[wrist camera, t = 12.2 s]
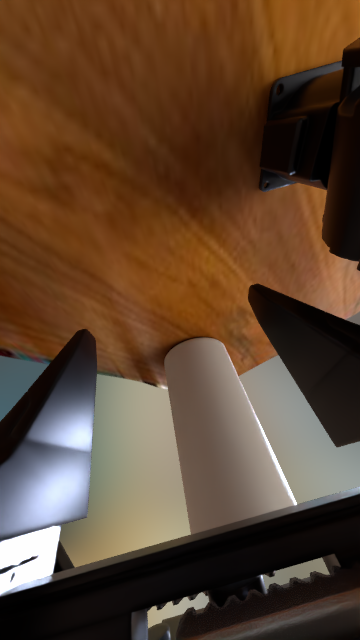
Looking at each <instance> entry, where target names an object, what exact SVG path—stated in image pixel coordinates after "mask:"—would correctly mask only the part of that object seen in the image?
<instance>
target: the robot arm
mask: <svg viewBox="0 0 360 640" xmlns="http://www.w3.org/2000/svg"><path fill="white" fill-rule="evenodd" d="M278 85H279V86H280V92H279V94H278V95H277V94H276V90H277V87H278ZM260 167H261V173H260V182H259V189H260V190H261V191H263V192H266V191H269V190H273V189H276V188H280V187H283V186H287V185H291V184H294V183H302V184H306V185H309V186H313V187H317V188H321V189H324V190H327V196H326V204H325V211H324V215H323V220H322V222H323V227H322V239H323V240H324V242H325V243H326V244H327V246H328V247H330V250H329V252H330V253H332V254H334V255H336V256H338V257H341V258H344V259H348V260H352V261H358V262H359V264H358V267H357V270H359V271H360V38H358V39H357V40H356V41H354V42H353V43H351V44H350V45H348V46H347V47H346V48H344V50H343V57H342V61H339V62H335V63H332V64H328V65H325V66H321V67H318V68H314V69H311V70H307V71H303V72H300V73H296V74H293V75H289V76H286V77H282V78H279V79H277V80H276V81H275V82H274V83H273V84H272V87H271V89H270V95H269V104H268V112H267V121H266V124H265V126H264V133H263V142H262V151H261V160H260ZM266 182H267V185H266V186H265V187H264V184H265V183H266ZM248 301H249V303H250V305H251V307H252V309H253V312H254V314H255V316H256V318H257V320H258V322H259V324H260V326H261V327H262V329H263V331H264V332H265V334H266V335H267V337H268V339H269V340H270V342H271V343H272V345H273V347H274V348H275V350H276V351H277V353H278V355H279V356H280V358H281V359H282V361H283V363H284V364H285V366H286V367H287V369H288V371H289V372H290V374H291V376H292V377H293V379H294V380H295V382H296V384H297V385H298V387H299V388H300V390H301V392H302V393H303V395H304V396H305V398H306V400H307V401H308V403H309V404H310V406H311V408H312V409H313V411H314V412H315V414H316V416H317V417H318V419H319V421H320V422H321V424H322V425H323V427H324V429H325V430H326V432H327V433H328V435H329V437H330V438H331V440H332V441H333V443H334V444H335V446H336V447H341V446H344V445H347V444H351V443H355V442H358V441H360V325H358V324H355V323H352V322H350V321H347V320H344V319H342V318H339V317H337V316H334V315H332V314H330V313H327V312H324V311H322V310H320V309H318V308H315V307H313V306H310V305H308V304H306V303H303V302H301V301H298V300H296V299H294V298H291V297H289V296H287V295H284V294H282V293H279V292H277V291H275V290H272V289H270V288H267V287H265V286H263V285H260V284H254V285H251V286H250V288H249V294H248ZM96 377H97V354H96V340H95V338H94V337H93V335H92V334H91V333H90V332H89V331H88V330H87V329H82V330H79V331H77V332H76V333H75V335H74V336H73V337H72V338H71V339H70V341H69V342H68V343H67V344H66V345H65V346H64V348H63V349H62V350H61V351H60V352H59V354H58V355H57V356H56V357H55V358H54V360H53V361H52V362H51V363H50V364H49V366H48V367H47V368H46V369H45V370H44V372H43V373H42V374H41V375H40V376H39V378H38V379H37V380H36V381H35V382H34V383H33V385H32V386H31V387H30V388H29V389H28V392H26V393H25V394H24V395H23V397H22V398H21V399H20V400H19V401H18V402H17V403H16V405H15V406H14V407H13V408H12V409H11V410H10V411H9V413H8V414H7V415H6V416H5V417H4V418H3V419H2V420H1V421H0V640H360V487H356V488H353V489H349V490H346V491H342V492H339V493H335V494H332V495H328V496H325V497H321V498H318V499H314V500H311V501H307V502H304V503H300V504H296V505H293V506H289V507H286V508H282V509H279V510H275V511H272V512H268V513H265V514H261V515H258V516H254V517H251V518H247V519H244V520H240V521H237V522H233V523H230V524H226V525H223V526H219V527H216V528H212V529H209V530H205V531H202V532H198V533H195V534H191V535H188V536H184V537H181V538H178V539H174V540H170V541H167V542H163V543H160V544H157V545H153V546H149V547H146V548H142V549H139V550H135V551H132V552H128V553H125V554H121V555H118V556H114V557H111V558H107V559H104V560H100V561H97V562H93V563H90V564H86V565H83V566H79V567H76V568H75V567H74V566H73V564H72V562H71V560H70V558H69V557H68V555H67V554H66V552H65V549H64V548H63V546H62V544H61V542H60V541H59V536H60V530H61V525H62V524H66V523H69V522H73V521H77V520H80V519H83V518H86V517H87V512H88V499H89V484H90V469H91V452H92V451H91V450H92V436H93V422H94V406H95V392H96ZM321 557H322V558H323V560H324V562H325V564H326V567H327V569H328V571H329V573H330V575H324V574H322V573H319V572H316V571H314V572H311V573H310V577H308V578H304V579H298V578H296V577H294V578H290V582H289V583H287V584H284V585H281V586H280V585H278V584H276V583H274V584H270V585H269V589H267V590H266V588H265V584H264V581H263V578H262V575H263V574H265V575H267V576H269V577H273V576H274V575H275V571H277V570H280V569H284V568H287V567H290V566H293V565H297V564H301V563H304V562H308V561H311V560H314V559H318V558H321ZM201 592H203V593H204V594H205V595H206V596H208V597H209V602H208V604H207V606H206V607H205V608H202V609H199V610H195V609H194V607H192V608H188V609H187V610H186V612H185V613H184V614H182V615H178V616H175V617H172V618H168V619H165V620H163V621H162V623H160V624H156V625H154V626H152V627H150V628H149V629H148V620H147V611H148V610H150V609H151V607H153V606H156V607H157V610H160V609H162V608H163V607H164V606H165V605H166V604H167V602H170V601H172V603H173V605H177V604H178V603H179V602H180V601H181V600H182V599H183V598H184V597H188V599H189V600H190V601H191V600H194V599H195V598H196V596H197V595H198V594H199V593H201Z"/></svg>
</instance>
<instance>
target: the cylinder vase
mask: <svg viewBox="0 0 360 640" xmlns="http://www.w3.org/2000/svg"><path fill="white" fill-rule="evenodd" d="M164 366H165V372H166V379H167V385H168V391H169V398H170V404H171V410H172V416H173V423H174V429H175V436H176V442H177V448H178V454H179V461H180V467H181V473H182V480H183V486H184V493H185V499H186V505H187V512H188V518H189V524H190V530H191V534H195V533H198V532H202V531H205V530H209V529H212V528H216V527H219V526H223V525H226V524H230V523H233V522H237V521H240V520H244V519H247V518H251V517H254V516H258V515H261V514H265V513H268V512H272V511H275V510H279V509H282V508H286V507H289V506H293V505H296V504H297V503H296V501H295V499H294V497H293V495H292V492H291V490H290V488H289V486H288V484H287V481H286V479H285V477H284V475H283V473H282V471H281V469H280V466H279V464H278V462H277V460H276V458H275V456H274V453H273V451H272V449H271V447H270V444H269V442H268V440H267V438H266V436H265V433H264V431H263V429H262V427H261V425H260V423H259V421H258V418H257V416H256V414H255V412H254V410H253V407H252V406H251V403H250V401H249V399H248V396H247V394H246V392H245V390H244V388H243V386H242V383H241V382H240V379H239V377H238V375H237V372H236V370H235V368H234V366H233V364H232V362H231V359H230V357H229V355H228V353H227V351H226V348H225V346H224V345H223V344H222V343H221V342H220V341H218V340H216V339H213V338H207V337H201V338H194V339H190V340H187V341H184V342H182V343H180V344H178V345H177V346H175V347H174V348H172V349H171V350H170V351H169V353H168V354H167V355H166V357H165V361H164ZM263 575H264V574H263Z"/></svg>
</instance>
